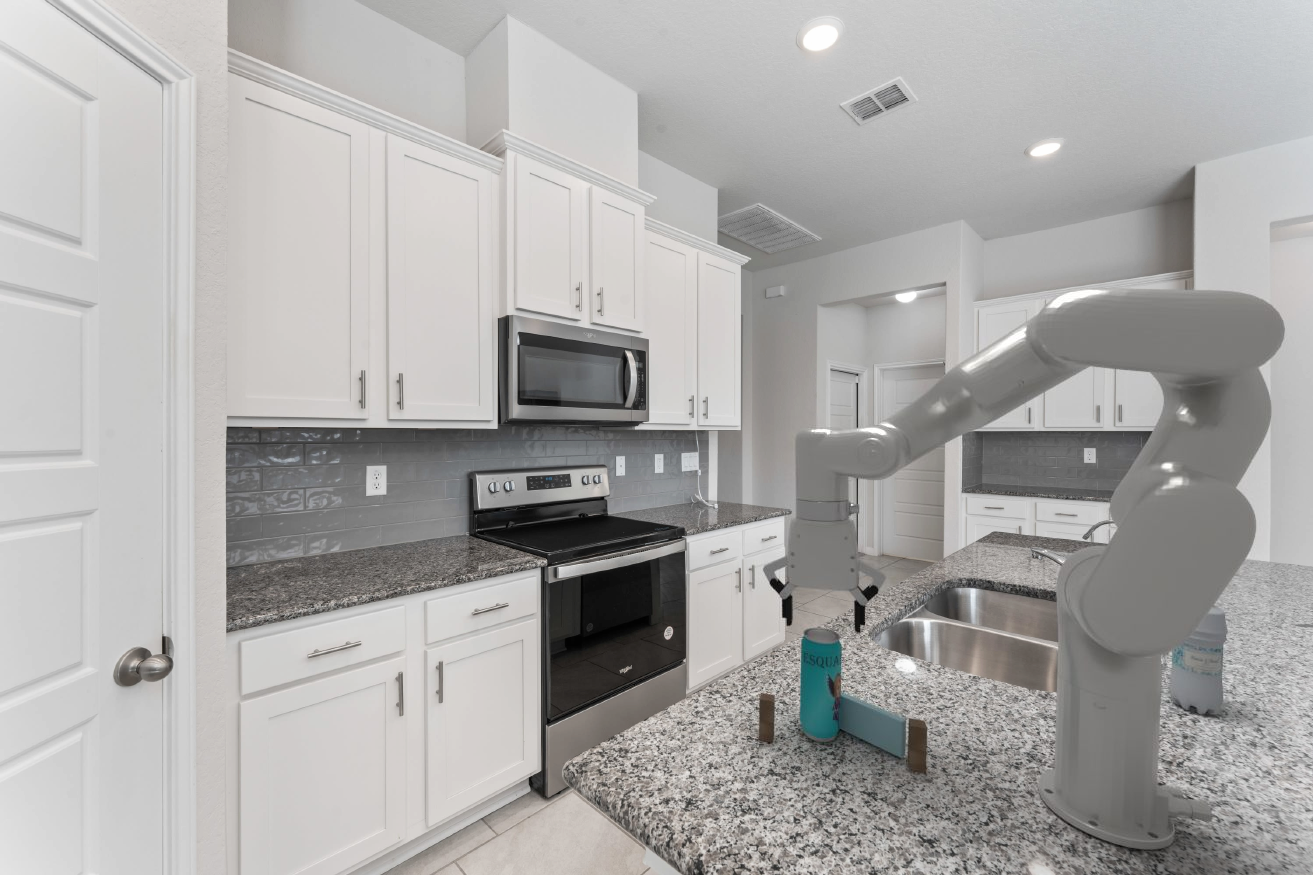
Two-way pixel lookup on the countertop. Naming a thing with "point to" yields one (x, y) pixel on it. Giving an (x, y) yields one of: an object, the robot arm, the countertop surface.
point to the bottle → (1200, 666)
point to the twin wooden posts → (915, 733)
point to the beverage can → (820, 684)
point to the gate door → (873, 724)
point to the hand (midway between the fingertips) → (822, 626)
